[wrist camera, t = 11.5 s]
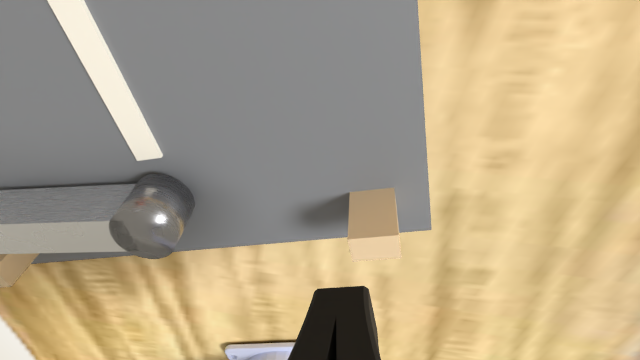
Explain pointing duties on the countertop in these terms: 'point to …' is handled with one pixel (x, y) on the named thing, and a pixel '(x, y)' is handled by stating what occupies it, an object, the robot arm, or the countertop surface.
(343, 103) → the plate
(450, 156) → the countertop surface
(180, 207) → the lock bar
